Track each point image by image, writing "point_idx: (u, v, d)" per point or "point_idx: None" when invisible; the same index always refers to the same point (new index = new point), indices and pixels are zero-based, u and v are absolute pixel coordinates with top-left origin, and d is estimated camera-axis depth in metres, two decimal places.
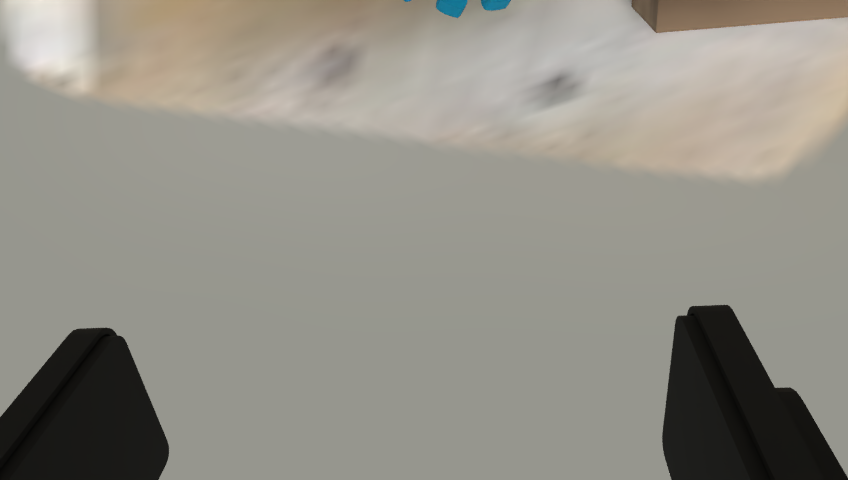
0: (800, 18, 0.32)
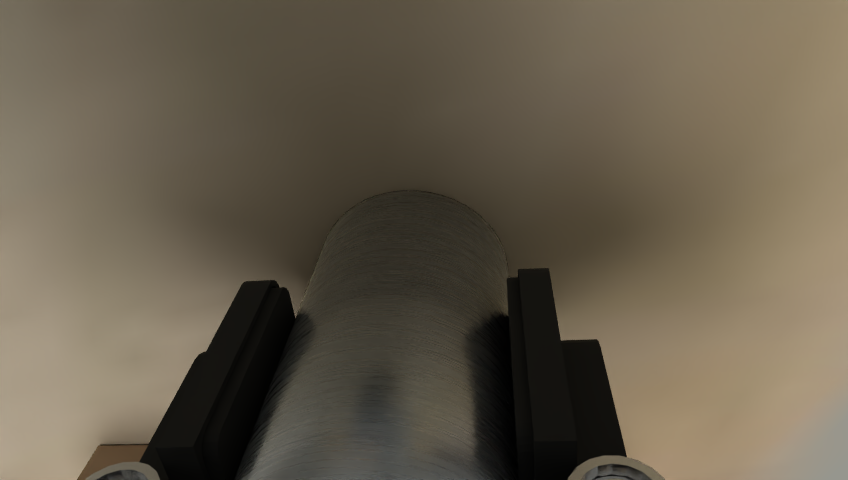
0: None
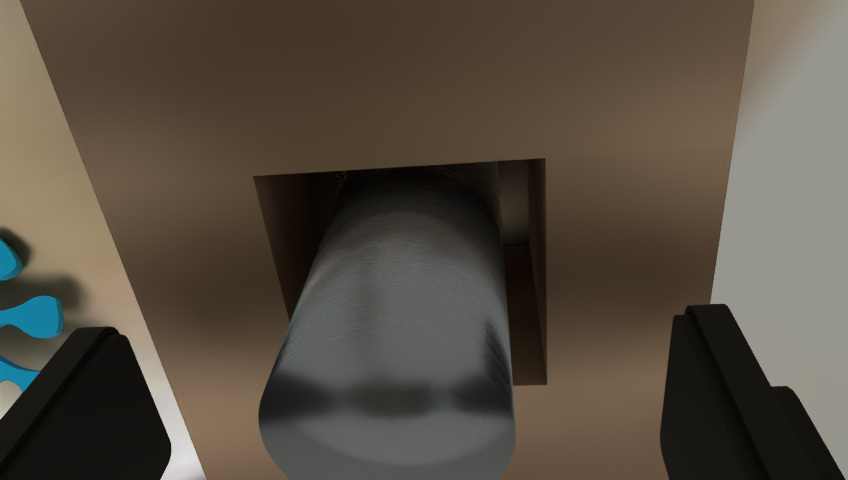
0: None
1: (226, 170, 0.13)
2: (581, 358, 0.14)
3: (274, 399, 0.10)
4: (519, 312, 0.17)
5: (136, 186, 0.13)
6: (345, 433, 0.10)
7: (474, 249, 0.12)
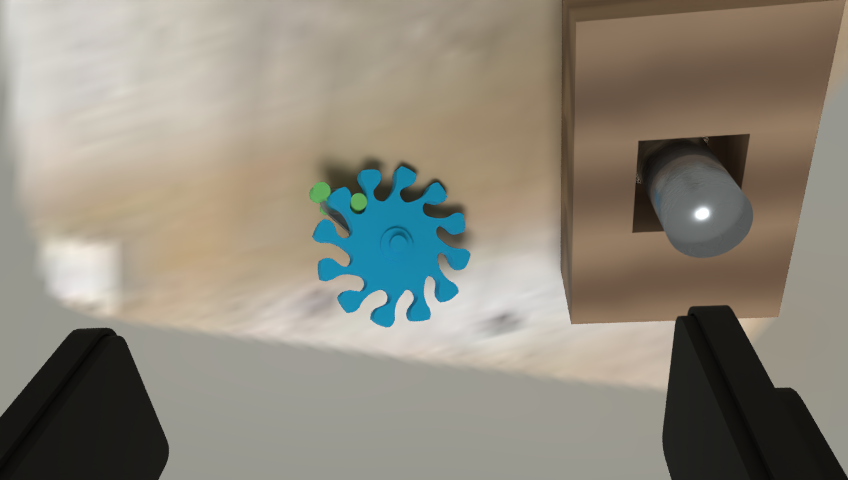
0: None
1: (629, 138, 0.34)
2: None
3: (676, 210, 0.32)
4: None
5: (591, 144, 0.35)
6: (695, 222, 0.32)
7: (723, 167, 0.34)
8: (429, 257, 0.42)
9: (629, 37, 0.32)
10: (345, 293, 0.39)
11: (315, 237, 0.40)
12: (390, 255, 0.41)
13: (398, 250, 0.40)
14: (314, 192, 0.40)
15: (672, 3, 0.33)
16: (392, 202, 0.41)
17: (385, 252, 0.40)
